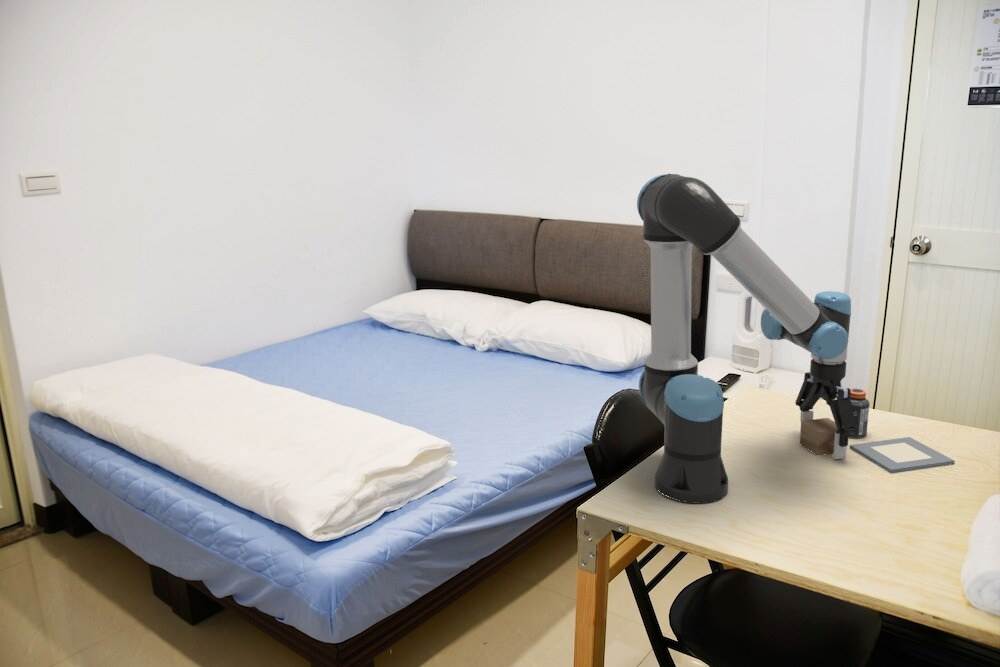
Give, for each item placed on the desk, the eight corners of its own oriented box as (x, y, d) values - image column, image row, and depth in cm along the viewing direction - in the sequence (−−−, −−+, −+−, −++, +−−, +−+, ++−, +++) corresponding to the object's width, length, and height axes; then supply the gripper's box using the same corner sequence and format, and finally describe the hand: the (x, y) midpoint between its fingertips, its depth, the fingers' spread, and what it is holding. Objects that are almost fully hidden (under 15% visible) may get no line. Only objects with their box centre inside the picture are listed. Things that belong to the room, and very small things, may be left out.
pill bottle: (834, 432, 191) (838, 388, 188) (851, 427, 194) (855, 384, 191) (854, 440, 186) (858, 396, 183) (872, 435, 188) (876, 391, 186)
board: (891, 473, 169) (891, 469, 169) (849, 448, 182) (850, 444, 182) (954, 463, 172) (954, 460, 172) (909, 440, 185) (909, 436, 185)
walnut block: (817, 456, 179) (819, 431, 177) (799, 444, 185) (801, 421, 184) (844, 452, 180) (846, 428, 179) (825, 441, 187) (827, 417, 185)
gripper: (879, 373, 166) (870, 466, 172) (811, 344, 189) (805, 426, 195) (848, 377, 165) (840, 470, 170) (783, 347, 188) (778, 429, 194)
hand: (822, 447), depth 183 cm, fingers open, 12 cm apart
